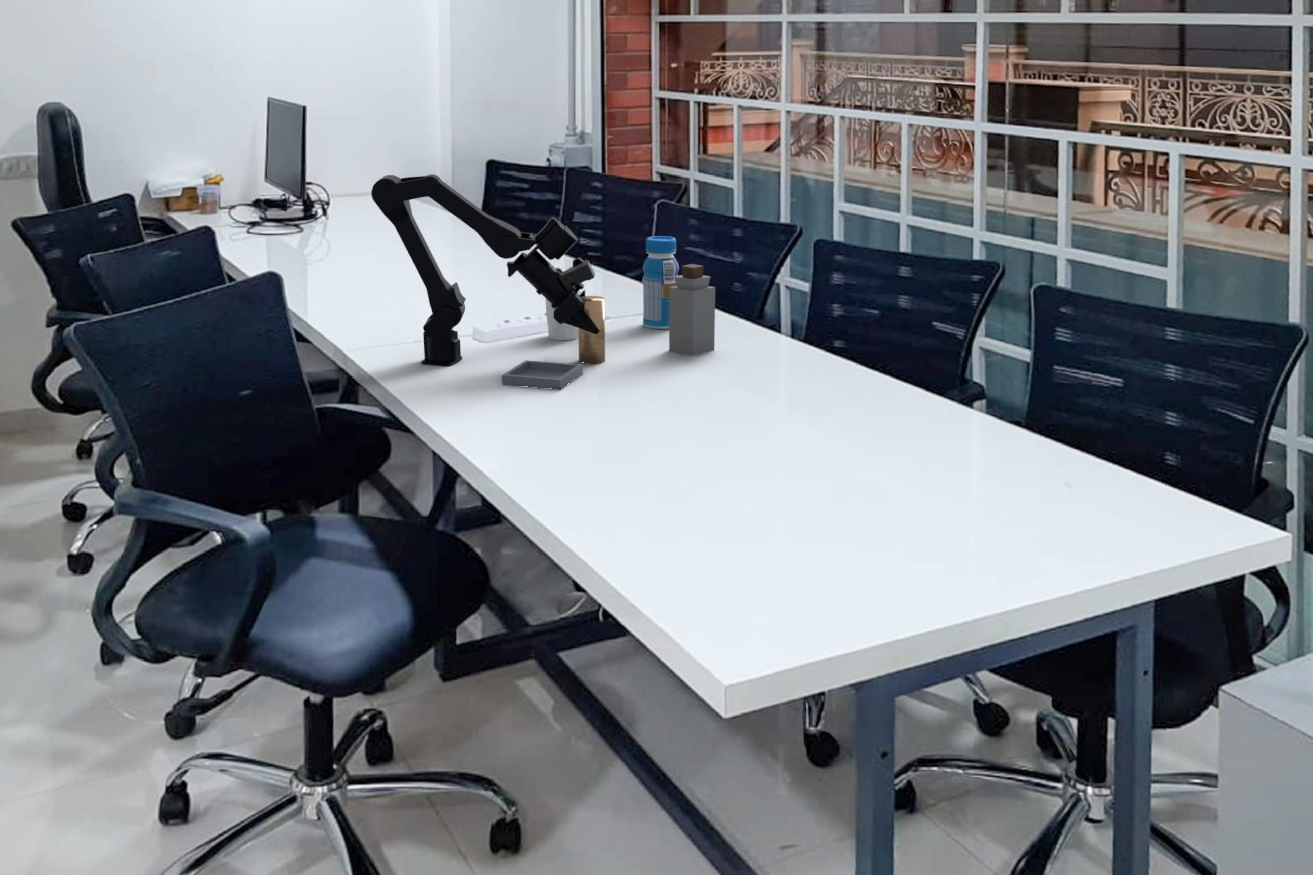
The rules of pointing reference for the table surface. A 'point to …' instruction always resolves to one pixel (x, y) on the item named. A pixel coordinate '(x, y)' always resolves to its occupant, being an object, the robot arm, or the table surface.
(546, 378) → the tray
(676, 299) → the perfume bottle
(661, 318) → the beverage bottle
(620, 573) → the table surface
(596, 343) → the can
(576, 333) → the white cup
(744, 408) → the table surface
